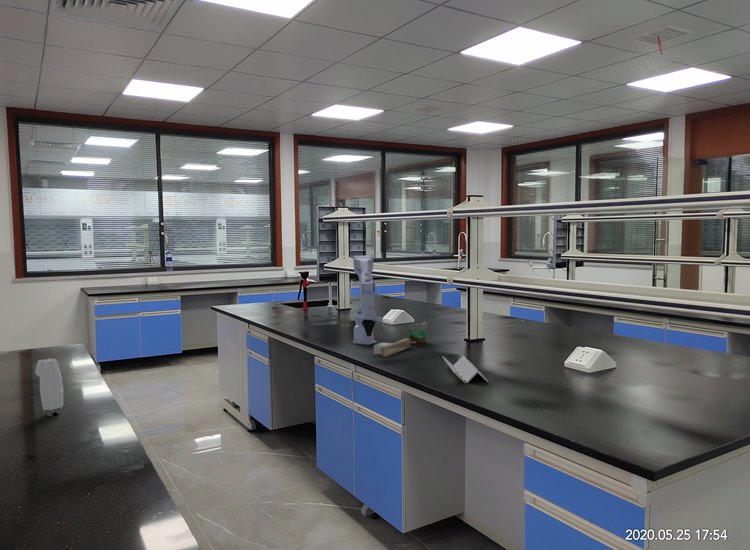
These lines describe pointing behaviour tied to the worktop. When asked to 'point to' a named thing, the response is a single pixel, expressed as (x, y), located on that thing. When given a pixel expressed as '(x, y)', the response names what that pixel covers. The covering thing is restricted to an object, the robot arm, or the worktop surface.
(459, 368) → the z bracket
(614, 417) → the worktop surface
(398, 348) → the birch board
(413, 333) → the food container
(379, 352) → the sage block
